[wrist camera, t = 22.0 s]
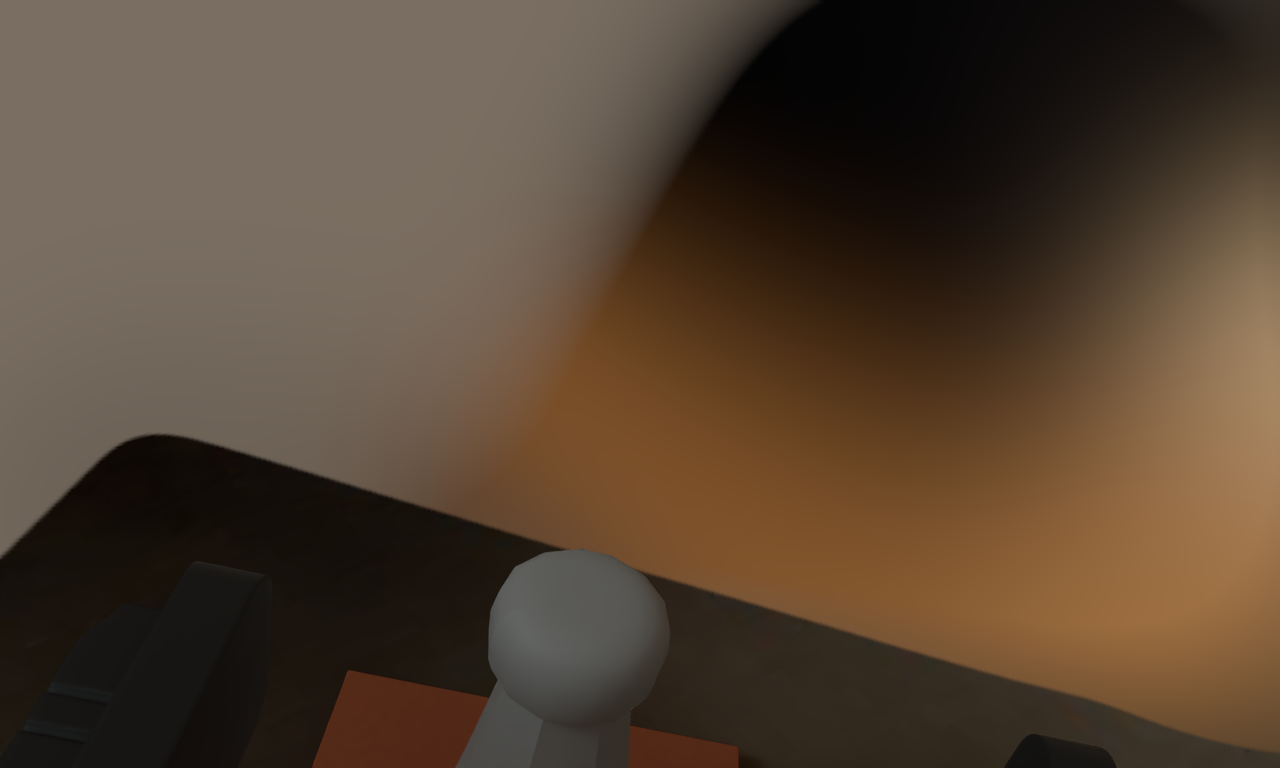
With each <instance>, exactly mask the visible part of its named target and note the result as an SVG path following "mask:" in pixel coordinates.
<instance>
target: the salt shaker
mask: <svg viewBox="0 0 1280 768" xmlns="http://www.w3.org/2000/svg"><path fill="white" fill-rule="evenodd" d="M669 641H670V627H669V622H668V617H667V611H666V606H665V602H664V600H663V599H662V598H661V596H660V595H659V594H658V592H657V591H656V590H655V588H654V587H653V586H652V584H651V583H650V582H649V580H648V579H647V578H646V576H644V575H643V574H641V573H640V572H638V571H636V570H635V569H633V568H631V567H630V566H628V565H626V564H624V563H623V562H621V561H620V560H618V559H616V558H614V557H613V556H609V555H605V554H601V553H597V552H593V551H589V550H584V549H576V550H566V551H556V552H546V553H542V554H540V555H538V556H536V557H534V558H532V559H530V560H528V561H526V562H524V563H522V564H520V565H518V566H516V567H515V568H514V569H513V571H512V572H511V574H510V576H509V577H508V579H507V580H506V582H505V583H504V585H503V586H502V588H501V589H500V591H499V593H498V595H497V597H496V600H495V602H494V604H493V606H492V608H491V613H490V622H489V651H488V660H489V663H490V667H491V669H492V671H493V673H494V674H495V676H496V677H497V679H498V681H497V683H496V685H495V687H494V689H493V691H492V694H491V696H490V698H489V700H488V702H487V704H486V706H485V708H484V710H483V712H482V715H481V717H480V719H479V721H478V723H477V725H476V727H475V729H474V731H473V733H472V736H471V738H470V740H469V742H468V744H467V746H466V748H465V750H464V752H463V754H462V756H461V758H460V760H459V761H458V763H457V765H456V767H455V768H628V762H629V739H630V716H631V710H632V709H634V708H635V707H636V706H638V705H639V704H641V703H642V702H643V701H644V700H645V699H646V698H647V697H648V696H649V694H650V692H651V690H652V688H653V685H654V683H655V681H656V679H657V677H658V675H659V672H660V670H661V668H662V666H663V663H664V661H665V658H666V656H667V654H668V651H669Z"/></svg>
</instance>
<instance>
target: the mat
mask: <svg viewBox="0 0 1280 768" xmlns="http://www.w3.org/2000/svg"><path fill="white" fill-rule="evenodd" d="M488 700H489V698H488V697H483V696H478V695H473V694H468V693H462V692H457V691H452V690H447V689H442V688H437V687H432V686H427V685H422V684H417V683H412V682H407V681H401V680H396V679H391V678H386V677H381V676H376V675H371V674H366V673H361V672H356V671H351V670H350V671H348V672H347V675H346V678H345V680H344V683H343V686H342V688H341V691H340V694H339V696H338V699H337V702H336V704H335V707H334V710H333V712H332V715H331V718H330V720H329V723H328V726H327V728H326V731H325V734H324V736H323V739H322V742H321V744H320V747H319V750H318V752H317V755H316V758H315V760H314V763H313V766H312V768H455V767H456V765H457V763H458V761H459V760H460V758H461V756H462V754H463V752H464V750H465V748H466V746H467V744H468V742H469V740H470V738H471V736H472V733H473V731H474V729H475V727H476V725H477V723H478V721H479V719H480V717H481V715H482V712H483V710H484V708H485V706H486V704H487V702H488ZM628 768H739V748H738V747H737V746H732V745H727V744H722V743H717V742H712V741H706V740H701V739H696V738H691V737H686V736H681V735H676V734H671V733H666V732H661V731H656V730H651V729H645V728H640V727H635V726H630V739H629V762H628Z"/></svg>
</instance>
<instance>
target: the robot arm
mask: <svg viewBox="0 0 1280 768" xmlns="http://www.w3.org/2000/svg"><path fill="white" fill-rule="evenodd" d="M271 596H272V583H271V578H270V576H269V575H264V574H259V573H255V572H250V571H245V570H240V569H235V568H230V567H225V566H220V565H215V564H210V563H205V562H200V561H195V562H193V563H192V564H191V565H190V566H189V567H188V568H187V570H186V571H185V573H184V574H183V576H182V577H181V579H180V581H179V582H178V584H177V586H176V588H175V589H174V591H173V593H172V594H171V596H170V598H169V600H168V601H167V603H166V605H165V606H164V608H163V610H162V609H157V608H152V607H147V606H142V605H137V604H132V603H127V602H126V603H125V604H123V605H122V606H121V607H119V608H118V609H117V610H115V611H114V612H113V613H111V614H110V615H109V616H107V617H106V618H105V619H103V620H102V621H101V622H99V623H98V624H97V625H95V626H94V627H93V628H91V629H90V630H89V631H87V632H86V633H85V634H83V635H82V636H81V637H79V638H78V640H77V642H76V643H75V645H74V646H73V648H72V649H71V651H70V652H69V654H68V655H67V657H66V658H65V660H64V661H63V663H62V665H61V666H60V668H59V669H58V671H57V672H56V674H55V675H54V677H53V678H52V680H51V681H50V683H49V688H48V690H47V692H46V693H43V694H42V695H41V697H40V698H39V700H38V701H37V703H36V704H35V706H34V707H33V709H32V711H31V712H30V714H29V715H28V717H27V718H26V720H25V721H24V727H23V729H22V731H21V732H20V731H18V732H17V734H16V735H15V737H14V738H13V740H12V741H11V743H10V744H9V746H8V747H7V749H6V750H5V752H4V753H3V755H2V757H1V758H0V768H238V766H239V764H240V761H241V759H242V757H243V754H244V752H245V750H246V748H247V745H248V743H249V741H250V738H251V736H252V734H253V731H254V729H255V726H256V723H257V721H258V717H259V714H260V711H261V708H262V704H263V700H264V697H265V692H266V687H267V682H268V675H269V654H270V625H271ZM1004 768H1116V765H1115V763H1114V761H1113V759H1112V757H1111V756H1110V754H1109V753H1108V752H1107V751H1106V750H1104V749H1103V748H1100V747H1096V746H1091V745H1086V744H1081V743H1076V742H1071V741H1066V740H1061V739H1056V738H1052V737H1047V736H1042V735H1037V734H1030V735H1028V736H1026V737H1025V738H1024V739H1023V740H1022V741H1021V743H1020V744H1019V746H1018V747H1017V749H1016V750H1015V752H1014V753H1013V755H1012V756H1011V758H1010V760H1009V761H1008V763H1007V764H1006V766H1005V767H1004Z"/></svg>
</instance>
